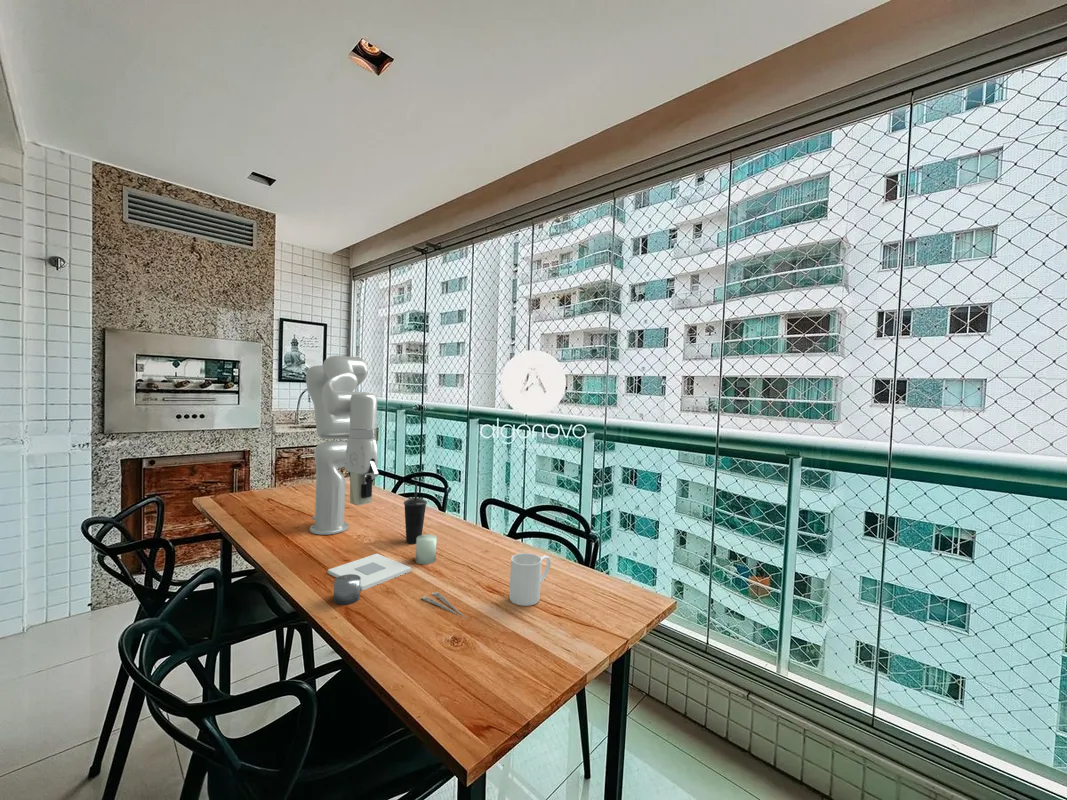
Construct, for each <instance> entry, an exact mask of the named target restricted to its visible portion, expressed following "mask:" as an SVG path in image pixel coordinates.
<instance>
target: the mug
mask: <svg viewBox="0 0 1067 800" xmlns="http://www.w3.org/2000/svg"><path fill="white" fill-rule="evenodd" d="M545 559H546V565H545V566H546V567H545V568H544V571H543V572H542V562H543V561H544V560H545ZM510 560H511V561H510V573H509V574H510V577H509V578H510V579H509V582H510V583H509V596H508V597H509V601H510V602H511V603H513V604H514V605H517V606H523V607H529V606H533V605H536V604H537V603H539V601H540V597H541V584H542V582H544V580H545V579H546V577H547V576H548V574H549V573H550V570H551V562H552V561H551V558H550V557H549V556H548V555H545V554H544V555H542V556H539V555H537V554H533V553H529V552H527V553H526V552H521V553H516V554H513V555H512V556H511V558H510Z"/></svg>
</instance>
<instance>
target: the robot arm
mask: <svg viewBox="0 0 1067 800" xmlns="http://www.w3.org/2000/svg"><path fill="white" fill-rule="evenodd" d="M368 367H369V366H368V365H367V363H366V361H365V359H363V358H362V357H358V356H345V355H332V356H329V357H327V358H326V359H324V361H323V364H321V365H313V366H310V367H309V368H308V369H307V371H306V374H305V384H306V388H307V392H308V394H309V396H310V398H311V401H312V404H313V407H314V417H315V427H316V428H315V429H316V433H317V434H316V435H317V436H318V437H319V438H320V439H323V440H328V441H323V442H320V443H319V444H317V445H316V447H315V448H314V456H313V457H314V463H315V474H316V475H315V478H316V480H315V482H316V483H315V507H314V508H315V509H314V515H313V516H312V520H314V523H313V524H312V525H310V527H309V532H310V533H311V534H313V535H318V536H319V535H322V536H323V535H324V536H325V535H329V536H330V535H335V534H340V533H343V532H346V531H347V530H349V523H348V522H346V521H345V509H346V508H345V504H346V503H345V502H346V478H345V476H344V475H343V474H342V472H341V471H340V470H339V469H341V468H344V470H345V471H346V472H347V474H348V476H349V477H350V472H351V473H357V474H360V475H362V479H363V484H362V485H361V498H366V497H371V496H372V497H373V484H374V481H375V480H376V478H377V477H378V476H379V471H378V463H379V462H378V460H379V458H378V446H377V423H378V422H377V421H378V420H377V419H378V396H377V395H376V394H375V393H370V392H365V391H355V390H356V388H357V387H358V386H360V384H362V383H363V382H364V381H365V380H366V378H367V377H368V372H369V370H368V369H369V368H368ZM329 440H331V441H329ZM368 471H369V473H367V472H368ZM366 475H369V476H368V477H367V478H366Z"/></svg>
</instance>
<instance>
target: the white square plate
mask: <svg viewBox="0 0 1067 800" xmlns="http://www.w3.org/2000/svg"><path fill="white" fill-rule="evenodd" d="M412 569H413V568H412V567H410V566H408V565H406V564H404V563H401V562H399V561H396V560H393V559H392V558H389V557H386V556H384V555H381V554H380V553H374V554H371V555H369V556H365V557H363V558H359V559H357V560H353V561H350V562H347V563H344V564H341V565H338V566H334V567H332V568H328V569H327V574H329V575H331V577H335V579H336V578H337V577H339V576H342V575H347V574H354V575H358V576H360V578H361V580H360V591H365V590H367V589H370V588H372V587H375V586H378V585H380V584H382V583H385V582H387V581H390V579H391V580H393V579H395V577H396V578H398V577H400V575H401V576H403V575H405V573H406V574H408V573H410V571H411V572H412V571H413V570H412ZM377 584H378V585H377Z"/></svg>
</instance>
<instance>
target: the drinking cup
mask: <svg viewBox="0 0 1067 800" xmlns="http://www.w3.org/2000/svg"><path fill="white" fill-rule="evenodd" d="M417 496H418V483H416V482H415V483H414V497H412V498H409V499H406V500H404V502H403V505H404V519H405V520H404V521H405V522H404V523H405V524H404V525H405V538H406V539H405V543H407V544H409V545H416V541H417V537H418V536H420V535H423V529H424V524H425V523H424V521H425V515H426V514H425V513H426V506H427V504H428V501H427V500H425V499H423V498H421V497H417Z"/></svg>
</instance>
